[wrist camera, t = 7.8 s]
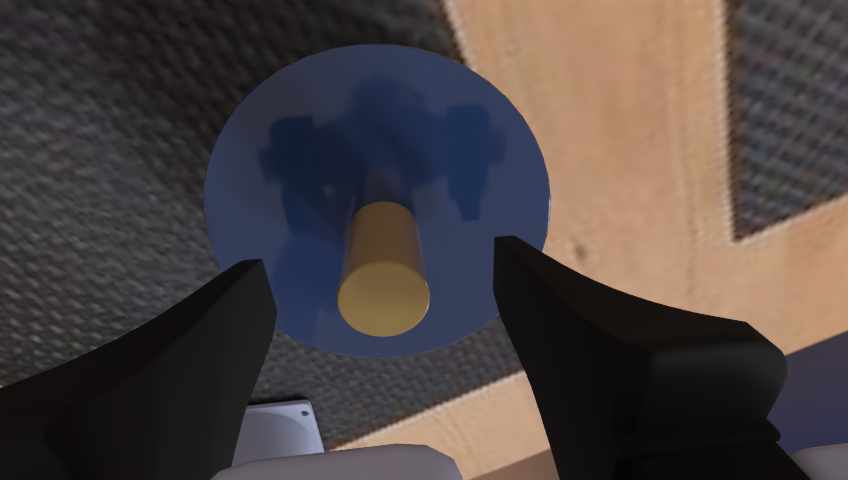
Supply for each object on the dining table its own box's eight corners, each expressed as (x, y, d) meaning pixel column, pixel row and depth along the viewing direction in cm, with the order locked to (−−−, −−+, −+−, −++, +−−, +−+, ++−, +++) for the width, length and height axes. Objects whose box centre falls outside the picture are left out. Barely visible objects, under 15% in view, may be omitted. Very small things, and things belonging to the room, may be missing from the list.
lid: (529, 325, 19) (576, 424, 14) (263, 353, 18) (221, 466, 14) (555, 29, 13) (653, 30, 8) (162, 55, 12) (25, 72, 8)
